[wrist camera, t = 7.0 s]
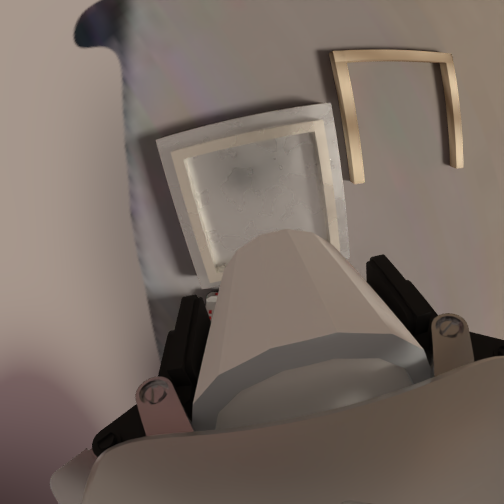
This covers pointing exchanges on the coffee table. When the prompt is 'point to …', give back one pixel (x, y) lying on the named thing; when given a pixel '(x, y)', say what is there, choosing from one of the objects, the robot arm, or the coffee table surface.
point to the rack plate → (255, 183)
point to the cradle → (348, 106)
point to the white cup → (298, 337)
